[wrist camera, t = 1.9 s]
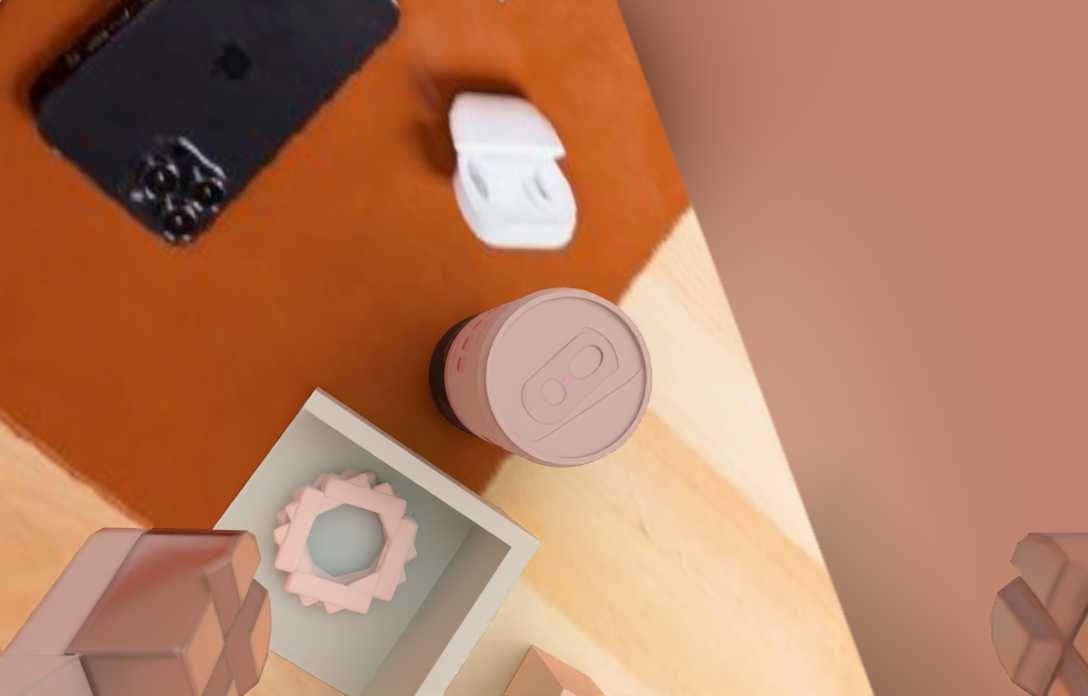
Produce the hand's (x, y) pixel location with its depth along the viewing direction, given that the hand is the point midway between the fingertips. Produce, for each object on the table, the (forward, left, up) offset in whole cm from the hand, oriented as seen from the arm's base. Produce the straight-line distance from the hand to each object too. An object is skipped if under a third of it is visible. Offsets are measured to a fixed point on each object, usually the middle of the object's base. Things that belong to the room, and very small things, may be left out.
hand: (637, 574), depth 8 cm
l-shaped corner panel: (+2, -7, -34) cm, 34 cm away
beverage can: (+3, +4, -34) cm, 34 cm away
